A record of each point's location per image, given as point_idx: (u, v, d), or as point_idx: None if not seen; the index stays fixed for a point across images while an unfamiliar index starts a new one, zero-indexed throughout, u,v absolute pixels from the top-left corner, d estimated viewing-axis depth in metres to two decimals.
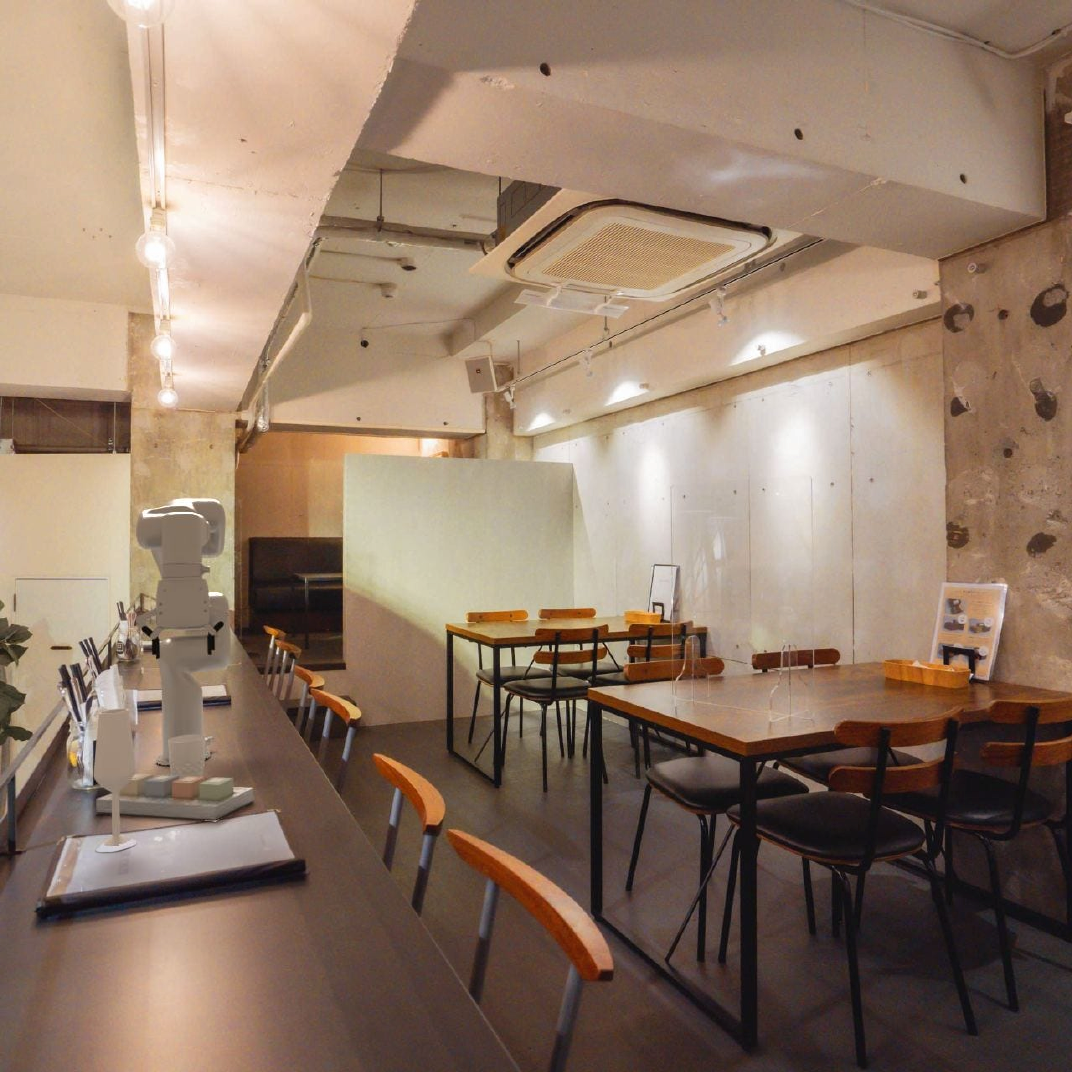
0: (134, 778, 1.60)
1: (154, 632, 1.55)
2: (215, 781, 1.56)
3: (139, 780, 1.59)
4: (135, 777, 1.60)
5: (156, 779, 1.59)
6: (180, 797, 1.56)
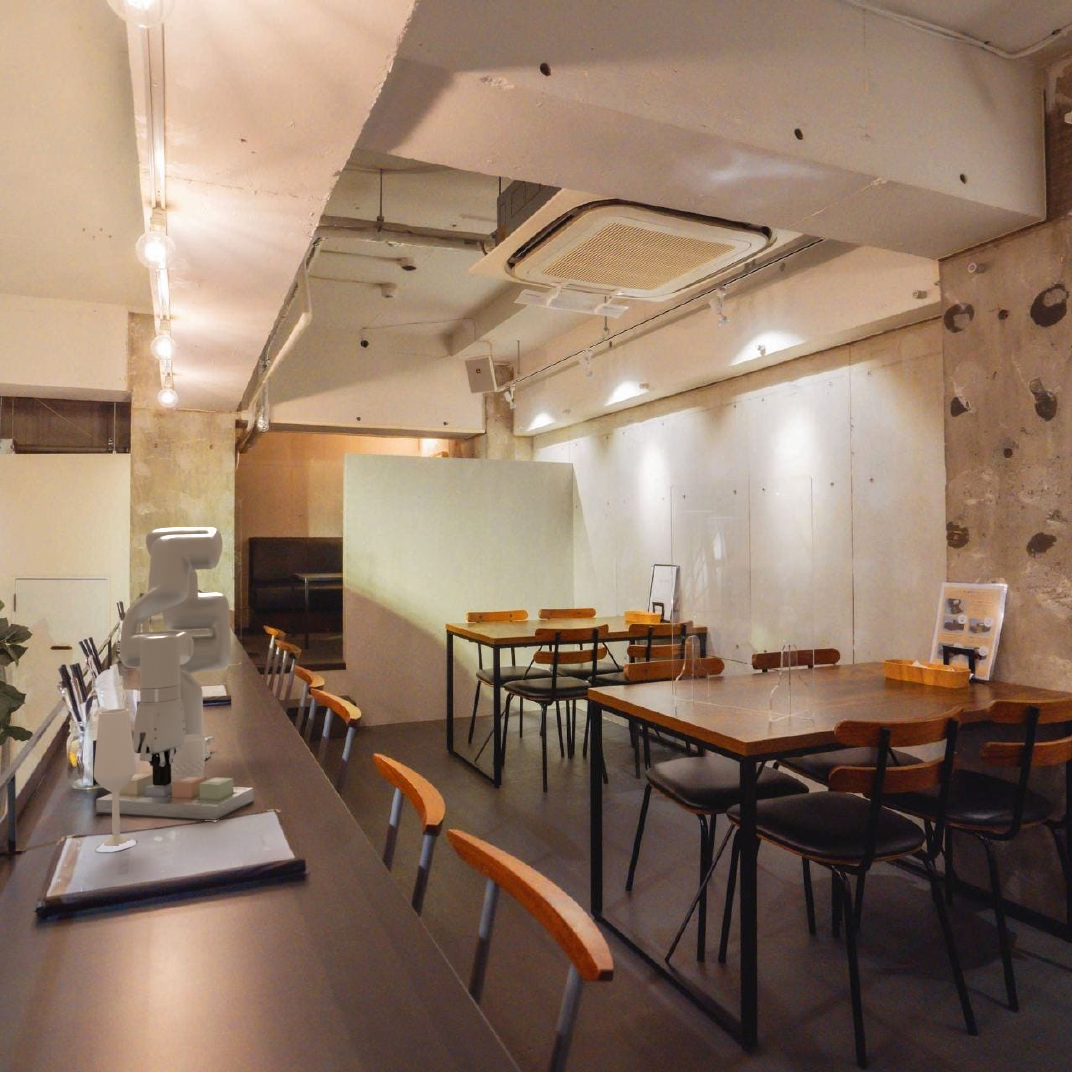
0: (134, 778, 1.60)
1: (163, 759, 1.58)
2: (215, 781, 1.56)
3: (139, 780, 1.59)
4: (135, 777, 1.60)
5: (156, 785, 1.59)
6: (180, 797, 1.56)
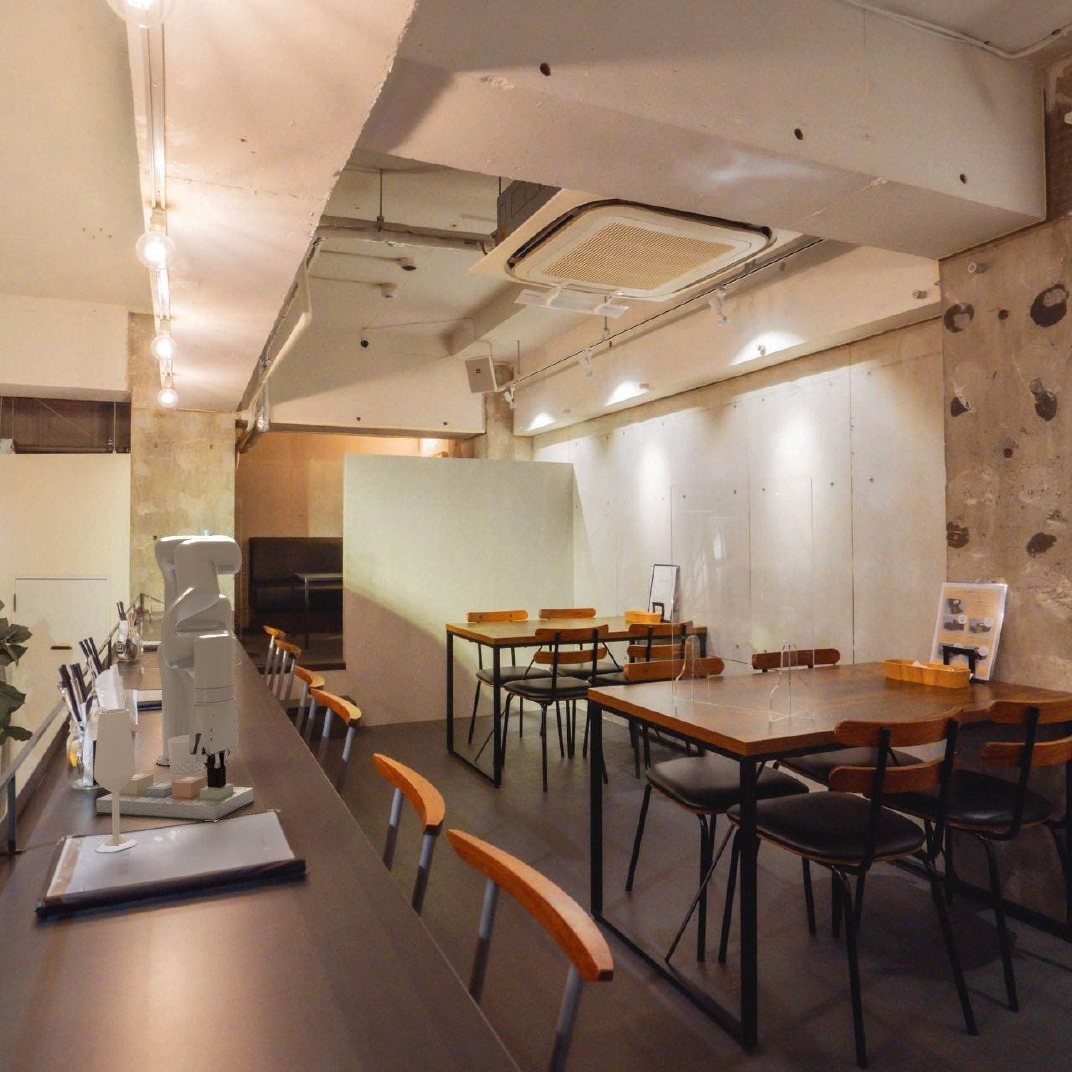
0: (134, 778, 1.60)
1: (218, 761, 1.55)
2: None
3: (139, 780, 1.59)
4: (135, 777, 1.60)
5: (156, 787, 1.59)
6: (180, 797, 1.56)
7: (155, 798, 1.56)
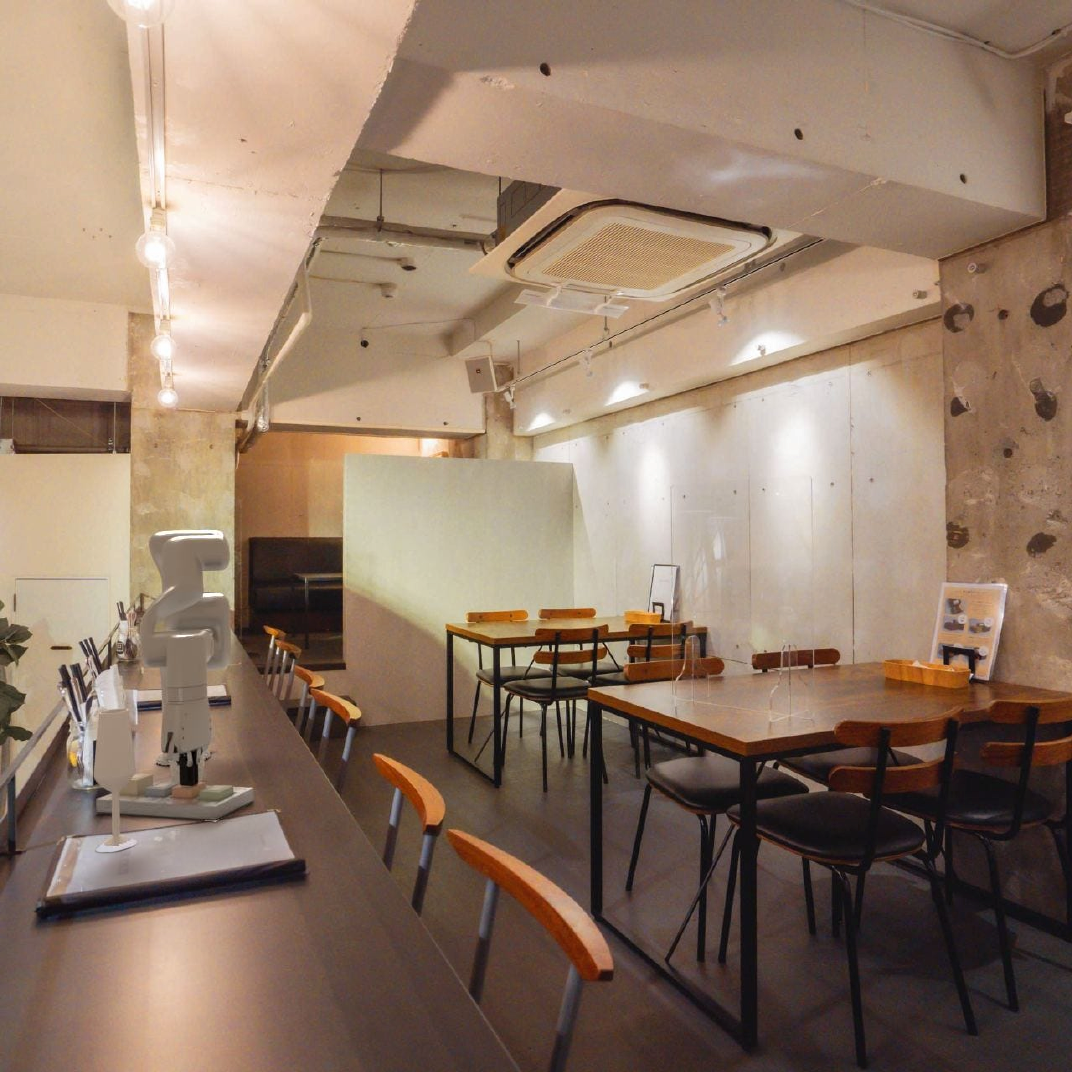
0: (134, 778, 1.60)
1: (191, 759, 1.57)
2: (215, 789, 1.56)
3: (139, 780, 1.59)
4: (135, 777, 1.60)
5: (156, 787, 1.59)
6: None
7: (155, 798, 1.56)
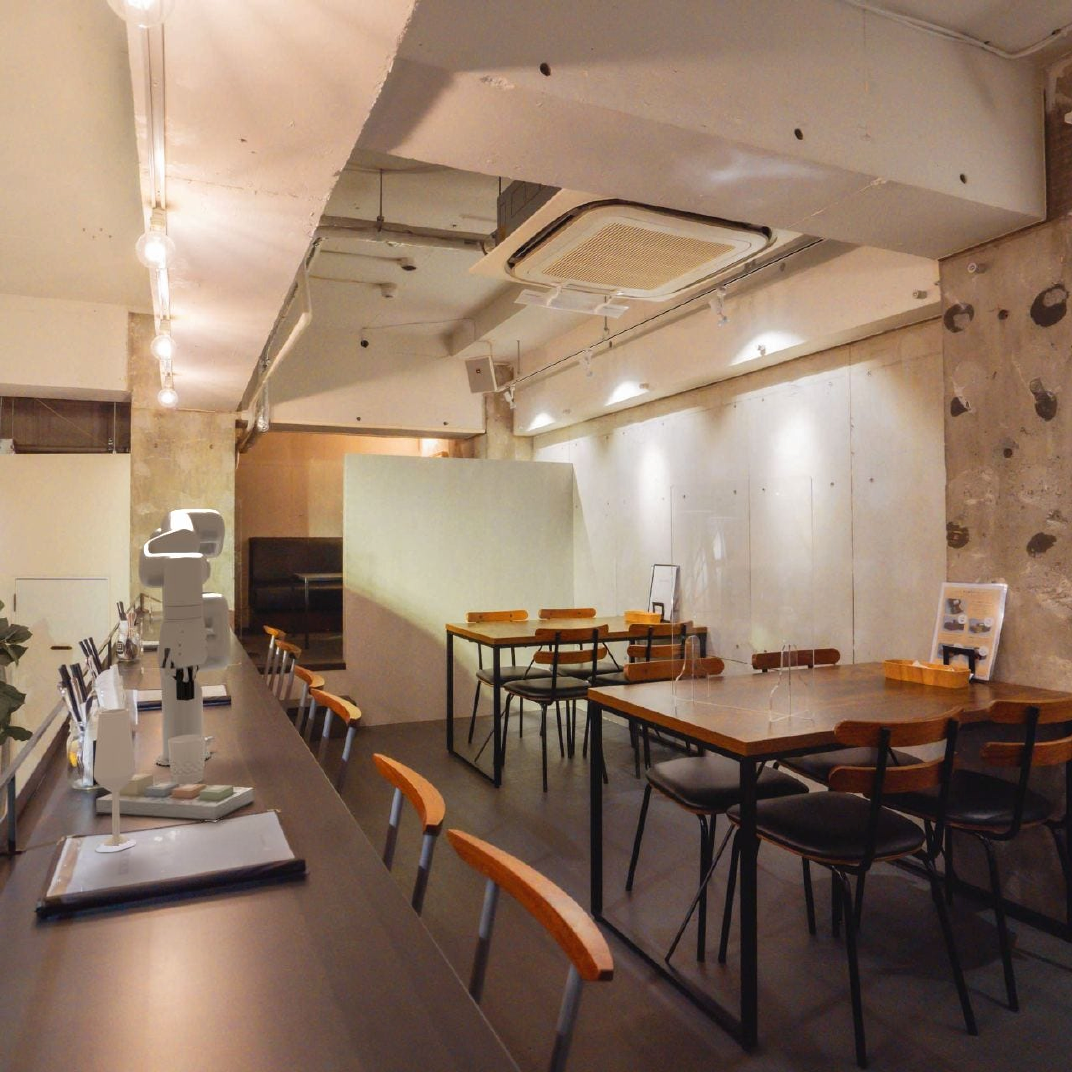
0: (134, 778, 1.60)
1: (187, 675, 1.63)
2: (215, 789, 1.56)
3: (139, 780, 1.59)
4: (135, 777, 1.60)
5: (156, 787, 1.59)
6: None
7: (155, 798, 1.56)
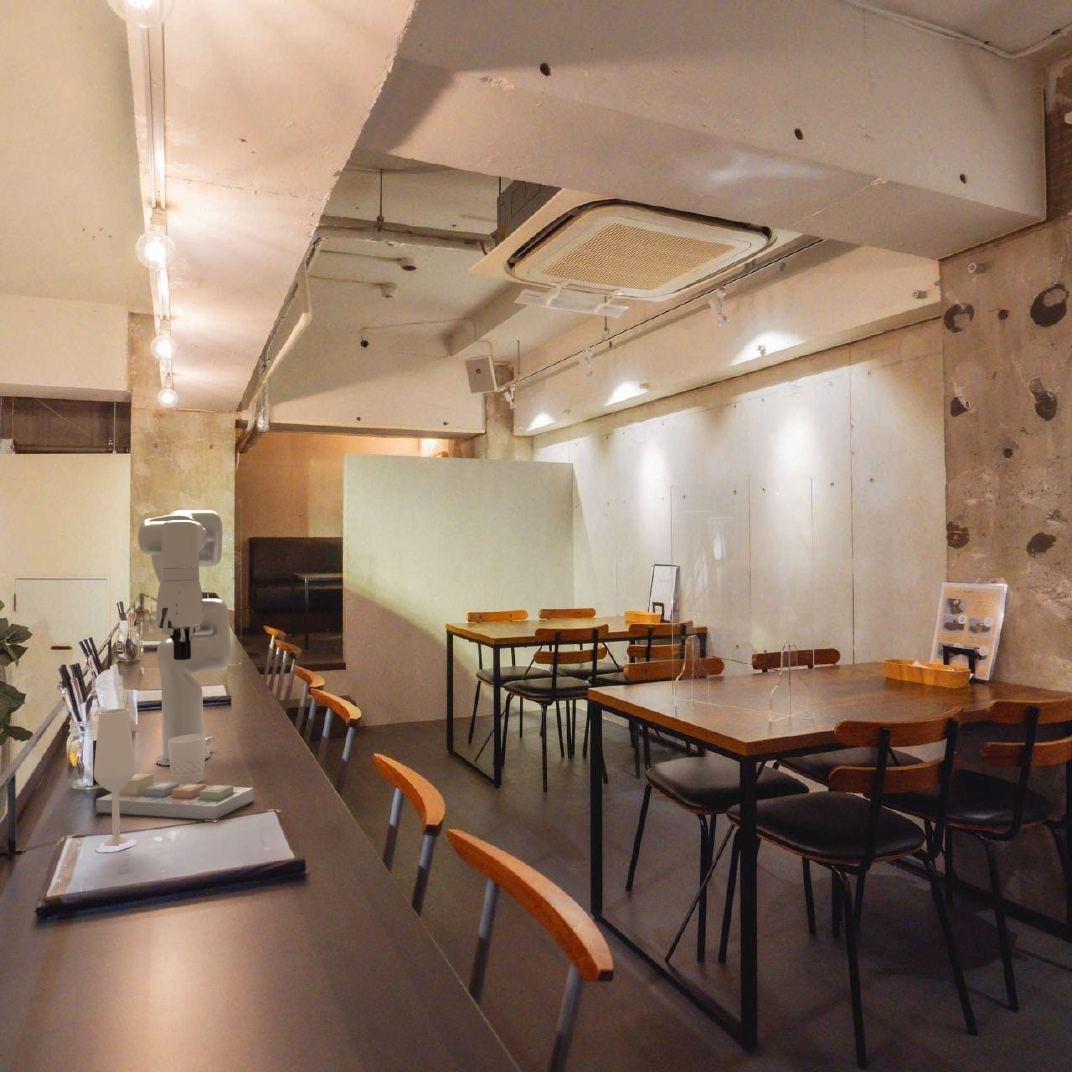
0: (134, 778, 1.60)
1: (184, 635, 1.69)
2: (215, 789, 1.56)
3: (139, 780, 1.59)
4: (135, 777, 1.60)
5: (156, 787, 1.59)
6: None
7: (155, 798, 1.56)
